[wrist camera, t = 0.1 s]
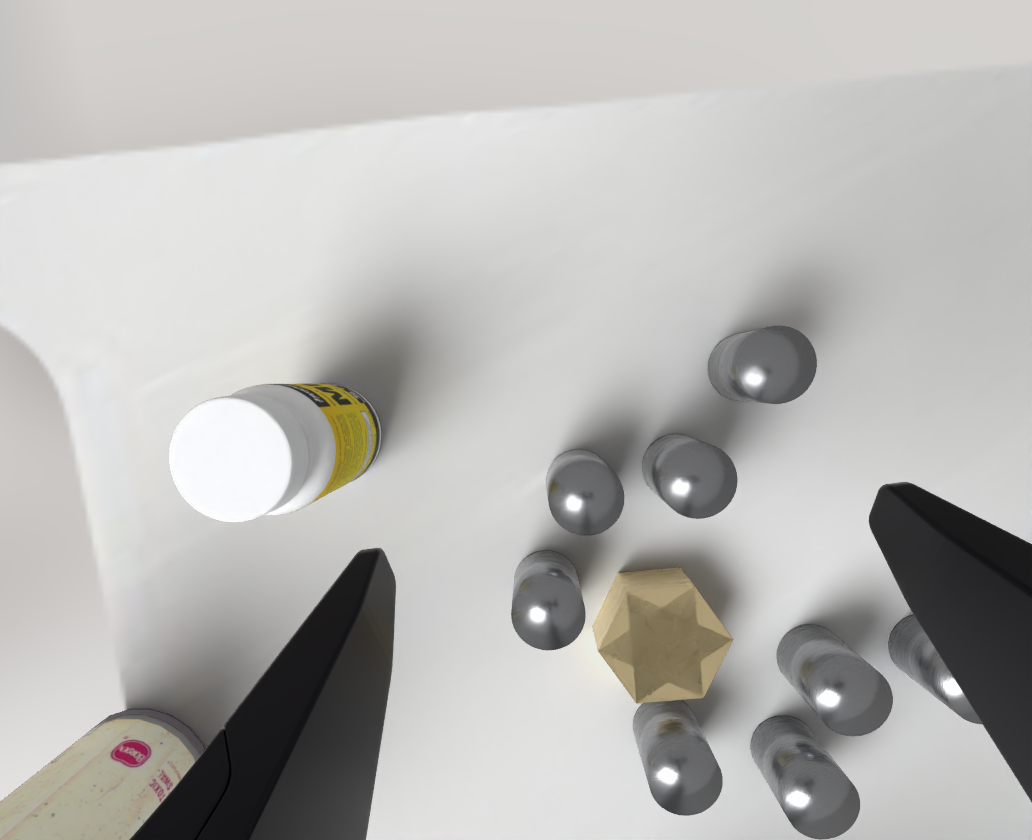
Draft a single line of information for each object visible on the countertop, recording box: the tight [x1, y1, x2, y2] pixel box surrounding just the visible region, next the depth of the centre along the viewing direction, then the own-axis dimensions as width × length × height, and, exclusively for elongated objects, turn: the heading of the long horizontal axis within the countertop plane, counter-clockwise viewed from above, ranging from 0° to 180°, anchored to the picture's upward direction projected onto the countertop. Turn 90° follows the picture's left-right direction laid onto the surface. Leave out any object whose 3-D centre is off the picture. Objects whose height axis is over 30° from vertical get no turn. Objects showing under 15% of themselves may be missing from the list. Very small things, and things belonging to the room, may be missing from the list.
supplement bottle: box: [169, 383, 381, 522], centre depth 21 cm, size 5×5×8 cm
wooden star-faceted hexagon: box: [592, 567, 733, 703], centre depth 24 cm, size 5×6×2 cm
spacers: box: [511, 326, 982, 839], centre depth 23 cm, size 19×16×4 cm
